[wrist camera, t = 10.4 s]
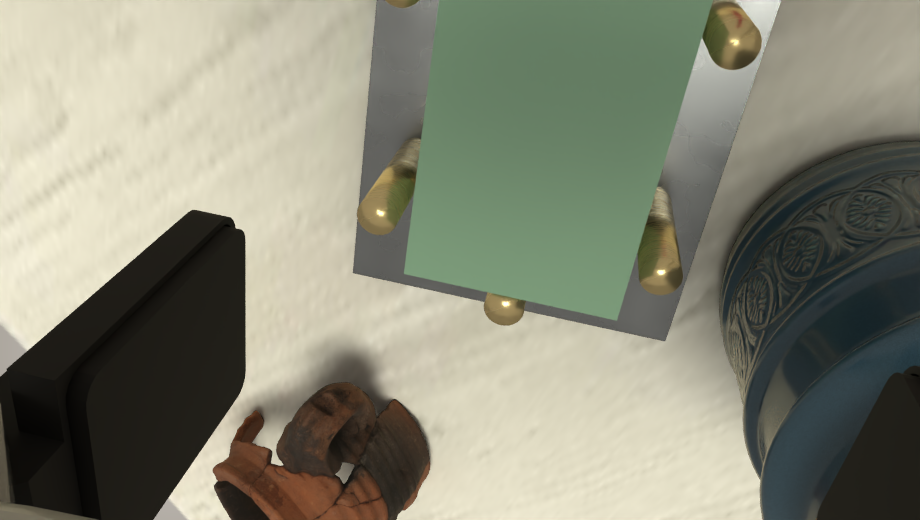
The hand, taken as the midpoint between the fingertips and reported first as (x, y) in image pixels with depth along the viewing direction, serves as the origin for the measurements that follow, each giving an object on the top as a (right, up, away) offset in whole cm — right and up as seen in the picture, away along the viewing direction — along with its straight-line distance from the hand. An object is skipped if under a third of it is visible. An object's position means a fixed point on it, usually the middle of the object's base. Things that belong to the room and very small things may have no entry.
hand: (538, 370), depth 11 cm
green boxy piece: (+2, +7, +15) cm, 17 cm away
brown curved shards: (-7, -7, +29) cm, 31 cm away
